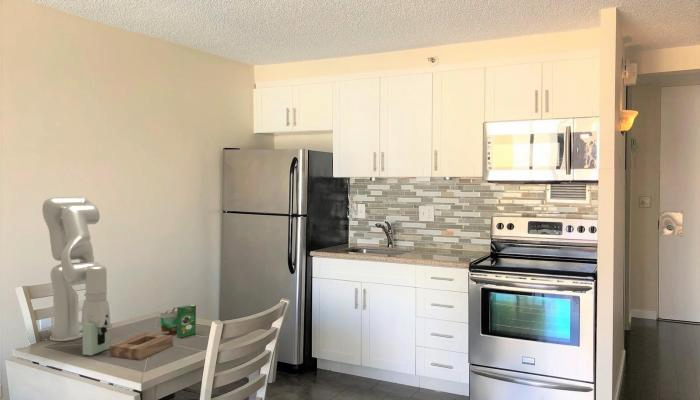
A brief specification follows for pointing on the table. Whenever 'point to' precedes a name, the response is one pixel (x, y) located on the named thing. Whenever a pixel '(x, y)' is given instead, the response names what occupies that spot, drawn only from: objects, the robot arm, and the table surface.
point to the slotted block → (141, 346)
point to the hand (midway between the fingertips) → (96, 342)
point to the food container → (169, 322)
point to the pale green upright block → (93, 339)
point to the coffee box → (186, 320)
